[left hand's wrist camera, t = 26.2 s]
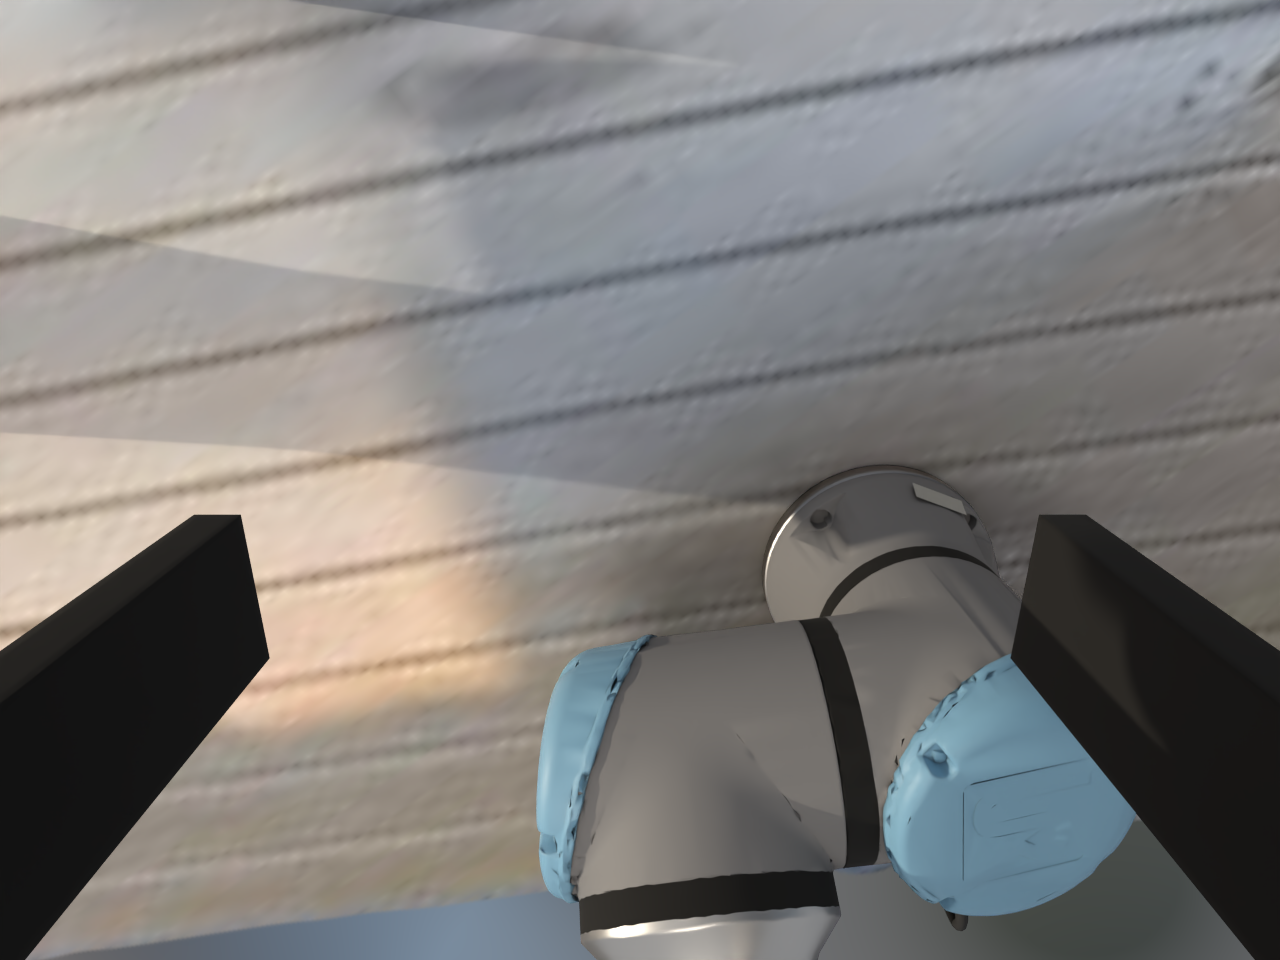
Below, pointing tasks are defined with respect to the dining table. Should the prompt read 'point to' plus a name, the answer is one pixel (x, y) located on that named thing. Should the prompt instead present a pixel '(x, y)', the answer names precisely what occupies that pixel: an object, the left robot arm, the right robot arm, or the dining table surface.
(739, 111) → the dining table surface
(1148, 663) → the left robot arm
